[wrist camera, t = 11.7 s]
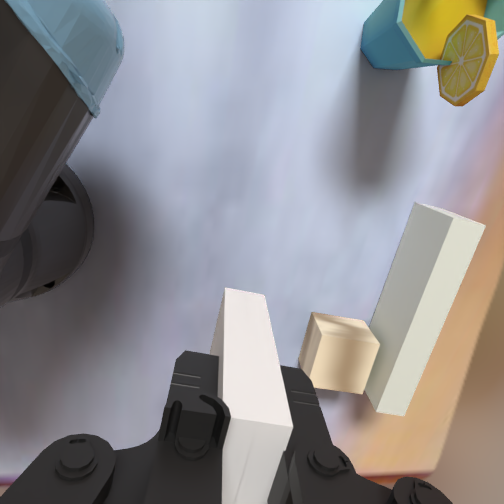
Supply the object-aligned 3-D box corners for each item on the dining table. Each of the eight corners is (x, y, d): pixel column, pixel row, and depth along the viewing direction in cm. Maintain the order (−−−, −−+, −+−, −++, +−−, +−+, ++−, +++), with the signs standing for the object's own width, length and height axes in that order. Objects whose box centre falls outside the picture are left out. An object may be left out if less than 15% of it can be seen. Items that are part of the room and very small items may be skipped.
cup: (324, -49, 32) (403, -193, 17) (415, -82, 31) (572, -257, 17) (362, 122, 36) (451, 119, 22) (443, 94, 36) (586, 72, 21)
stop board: (353, 369, 44) (375, 411, 38) (414, 202, 39) (453, 218, 32) (377, 373, 45) (403, 416, 38) (441, 208, 39) (485, 225, 32)
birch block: (298, 358, 44) (306, 386, 39) (311, 311, 42) (322, 335, 37) (348, 365, 44) (362, 394, 40) (363, 319, 43) (380, 344, 38)
